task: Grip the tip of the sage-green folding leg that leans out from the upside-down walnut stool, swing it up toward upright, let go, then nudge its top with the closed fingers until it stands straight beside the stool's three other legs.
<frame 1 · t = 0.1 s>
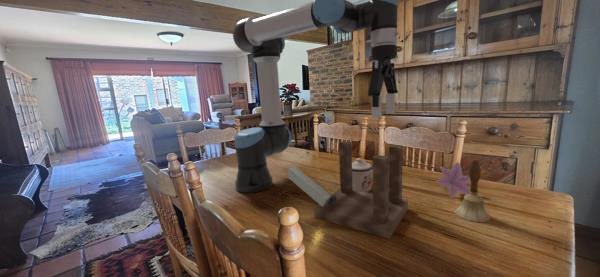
hand: (383, 115, 81), 28 cm above the table, tool pointing down, fingers open, 13 cm apart
hand bell: (472, 215, 71), on the table
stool: (361, 213, 76), on the table
folding leg: (307, 185, 78), point 9 cm above the table, hinge at -60.0°
teacup with lid: (361, 187, 96), on the table
lily: (452, 194, 86), on the table
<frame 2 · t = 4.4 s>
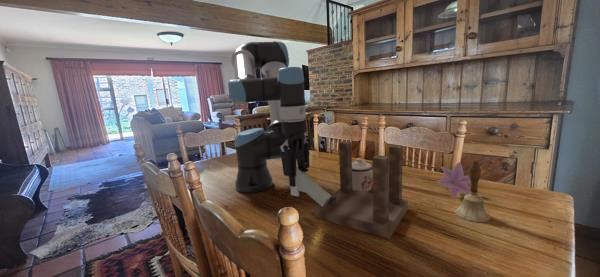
hand: (298, 193, 81), 5 cm above the table, tool pointing down, fingers closed on folding leg, 3 cm apart
folding leg: (307, 185, 78), point 9 cm above the table, hinge at -60.0°, touching gripper
everything else where it was.
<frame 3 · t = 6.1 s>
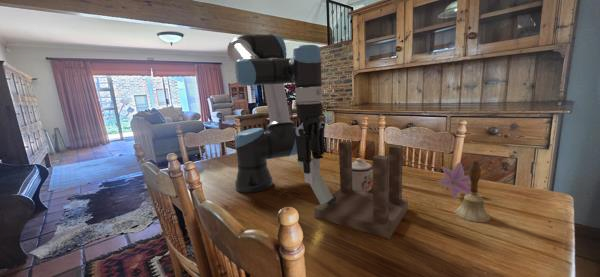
hand: (312, 180, 77), 10 cm above the table, tool pointing down, fingers closed on folding leg, 3 cm apart
folding leg: (314, 178, 76), point 11 cm above the table, hinge at -31.3°, touching gripper
everything else where it was.
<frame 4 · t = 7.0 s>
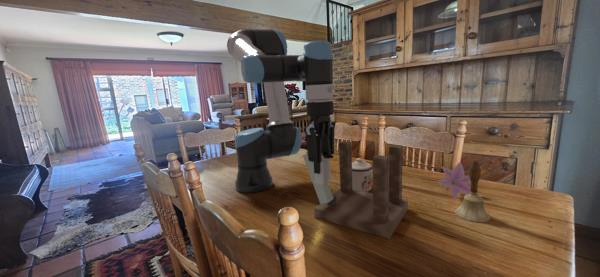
hand: (322, 181, 74), 11 cm above the table, tool pointing down, fingers closed on folding leg, 3 cm apart
folding leg: (318, 177, 75), point 12 cm above the table, hinge at -20.7°, touching gripper
everything else where it was.
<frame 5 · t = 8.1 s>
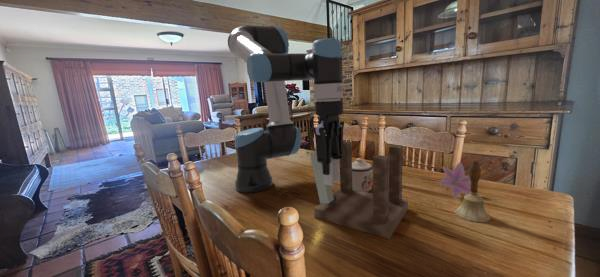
hand: (331, 182, 73), 11 cm above the table, tool pointing down, fingers closed on folding leg, 3 cm apart
folding leg: (322, 176, 74), point 12 cm above the table, hinge at -10.0°, touching gripper
everything else where it was.
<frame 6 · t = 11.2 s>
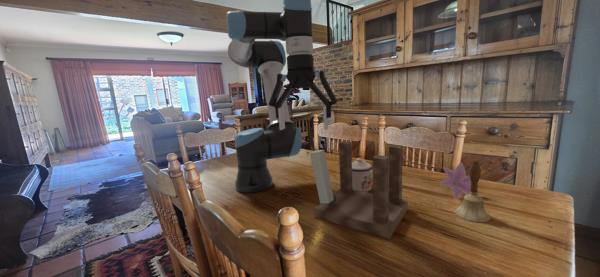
hand: (303, 129, 75), 26 cm above the table, tool pointing down, fingers open, 13 cm apart
folding leg: (322, 176, 74), point 12 cm above the table, hinge at -9.6°
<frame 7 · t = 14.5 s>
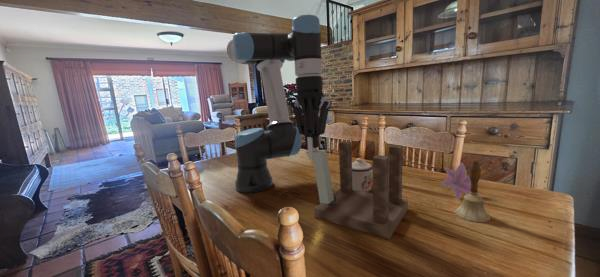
hand: (313, 158, 75), 18 cm above the table, tool pointing down, fingers closed
folding leg: (323, 176, 74), point 12 cm above the table, hinge at -7.0°, touching gripper
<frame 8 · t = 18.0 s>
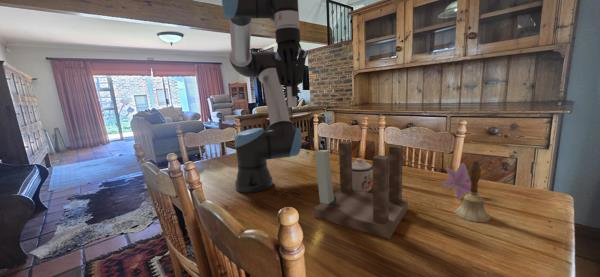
hand: (292, 106, 81), 32 cm above the table, tool pointing down, fingers closed
folding leg: (324, 176, 74), point 12 cm above the table, hinge at -3.5°
at the end: folding leg at -4° (first picture: -60°); the gripper is holding nothing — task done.
